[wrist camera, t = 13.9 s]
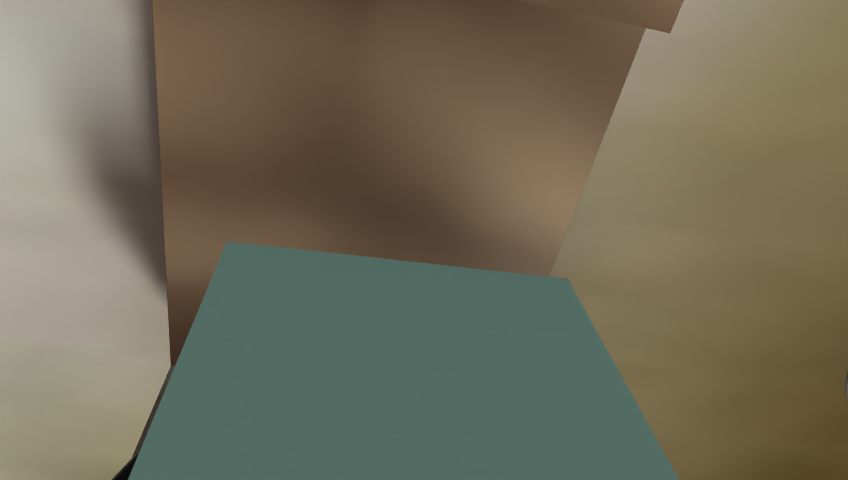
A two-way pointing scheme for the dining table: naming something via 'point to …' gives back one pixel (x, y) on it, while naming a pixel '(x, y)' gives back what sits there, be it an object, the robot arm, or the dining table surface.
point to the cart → (382, 128)
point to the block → (392, 378)
